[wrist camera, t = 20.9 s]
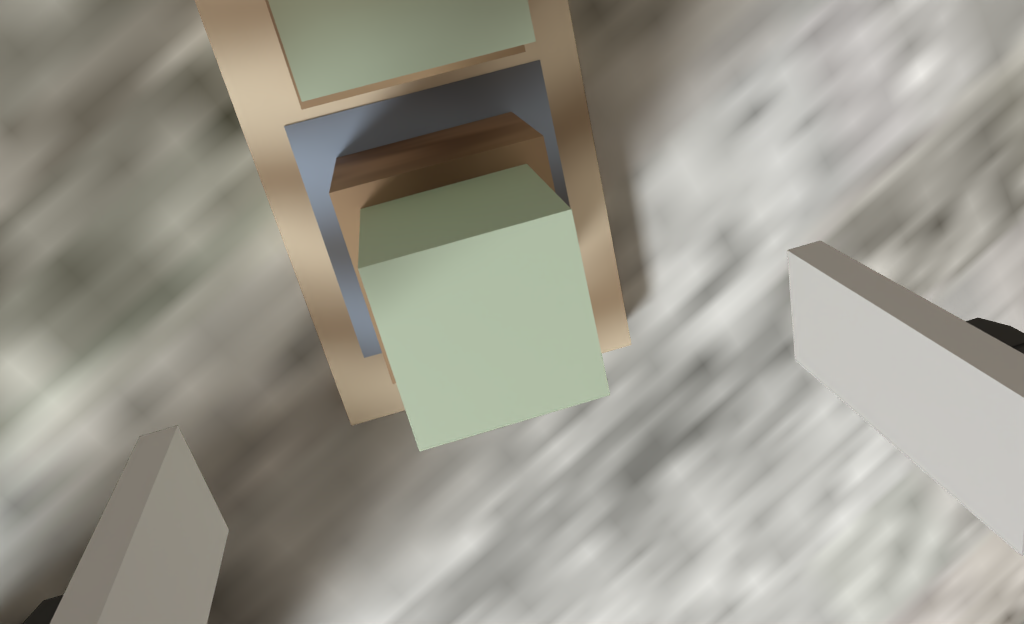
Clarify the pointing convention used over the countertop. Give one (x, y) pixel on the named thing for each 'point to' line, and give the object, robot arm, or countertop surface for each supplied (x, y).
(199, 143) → the countertop surface
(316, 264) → the blueprint board
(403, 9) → the tower
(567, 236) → the sage block
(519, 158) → the walnut block
